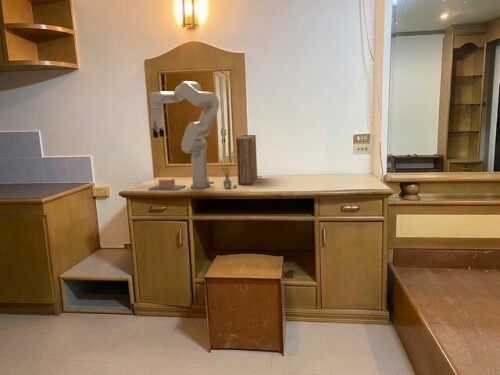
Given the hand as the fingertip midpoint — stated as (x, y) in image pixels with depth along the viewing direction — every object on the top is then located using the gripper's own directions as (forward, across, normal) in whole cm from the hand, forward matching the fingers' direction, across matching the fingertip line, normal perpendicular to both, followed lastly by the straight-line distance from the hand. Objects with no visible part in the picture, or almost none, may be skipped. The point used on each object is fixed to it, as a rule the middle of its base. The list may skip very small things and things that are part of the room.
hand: (158, 137), depth 263 cm
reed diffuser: (+31, +18, +52) cm, 63 cm away
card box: (+30, +19, +12) cm, 38 cm away
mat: (+31, +19, +12) cm, 38 cm away
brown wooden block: (+31, -5, +59) cm, 67 cm away
